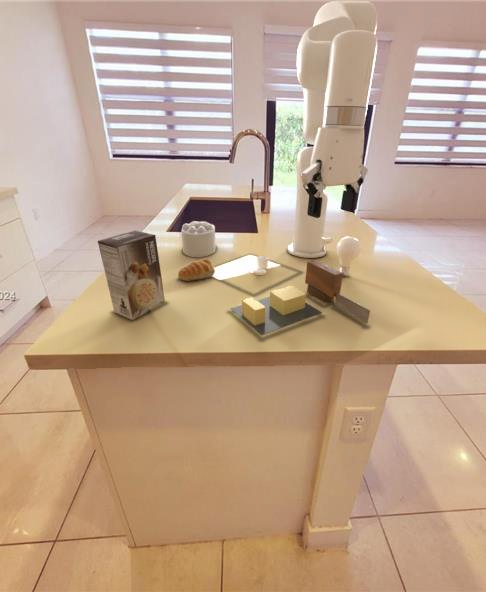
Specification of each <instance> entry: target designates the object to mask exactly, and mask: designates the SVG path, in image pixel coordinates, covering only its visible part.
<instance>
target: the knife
mask: <svg viewBox="0 0 486 592" xmlns="http://www.w3.org/2000/svg"><path fill="white" fill-rule="evenodd" d="M343 277H344V276H343V272H341V271H340V270H338V269H336V268H334V267H332V266H330V265H327V264H325V263H323V262H321V261H318V260H316V259H313V260H309V261H307V262H306V269H305V279H304V283H305V284H307V286H308V285H310V286H312V287H314V288H316V289H317V290H319V291H321V292H323V293H325V294H326V295H328V296H330V297H332V298H333V297H334V303H333V304H334V306H336V307H337V308H339V309H341V310H343V311H345V312H346V313H348V314H350V315H351V316H353V317H355V318H357V319H358V320H360V321H362V322H363V323H365V324H368V323H369V318H370V314H371V309H369V308H368V307H365V306H364V305H362V304H360V303H358V302H356V301H355V300H352V299H351V298H349V297H347V296H345V295H343V294H341V289H342V284H343Z"/></svg>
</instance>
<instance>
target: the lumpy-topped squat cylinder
mask: <svg viewBox="0 0 486 592" xmlns="http://www.w3.org/2000/svg"><path fill="white" fill-rule="evenodd" d="M181 242H182V252H183V254H185V255H186V256H188V257H190V258H205V257H207V256H210V255H213V254H214V253H215V252H216V246H217V245H216V226H215V225H214V224H213V223H209V222H207V221H195V220H193V221H191V222H189V223H184V224H183V225H182V226H181Z"/></svg>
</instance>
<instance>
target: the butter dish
mask: <svg viewBox="0 0 486 592" xmlns="http://www.w3.org/2000/svg"><path fill="white" fill-rule="evenodd" d="M257 301H258V302H259V303H261V304H262V305H263V306H265V307H266V314H265V322H264V323H261V324H258V325H254V324H252V323H251V322H250V321H249V320H248V319H247V318H245V317H244V316H243V315H242V304H240V305H236V306H234V307H231V308H230V310H231V311H232V312H234V313H235V314H236V315H237V316H238V317H239V318H240V319H242V321H244V322H245V323H246V324H247V325H249V326H250V327H251V328H252V329H253V330H254V331H255V332H256V333H258V334H259V336H264V335H266V334H269V333H272V332H274V331H278V330H281V329H283V328H285V327H288V326H291V325H294V324H296V323H299V322H302V321H305V320H307V319H310V318H312V317H315V316H319V315H321V314H323V312H322V311H321V310H320V309H317V308H315V307H314V306H313V305H311V304H309V303H308V302H306V301H305V308H303V309H300V310H298V311H295V312H292V313H289V314H286V315H282V314H281V313H279V312H278V311H277V310H275V309H274V308H272V307H271V306H270V296H267V297H264V298H260V299H257Z"/></svg>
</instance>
